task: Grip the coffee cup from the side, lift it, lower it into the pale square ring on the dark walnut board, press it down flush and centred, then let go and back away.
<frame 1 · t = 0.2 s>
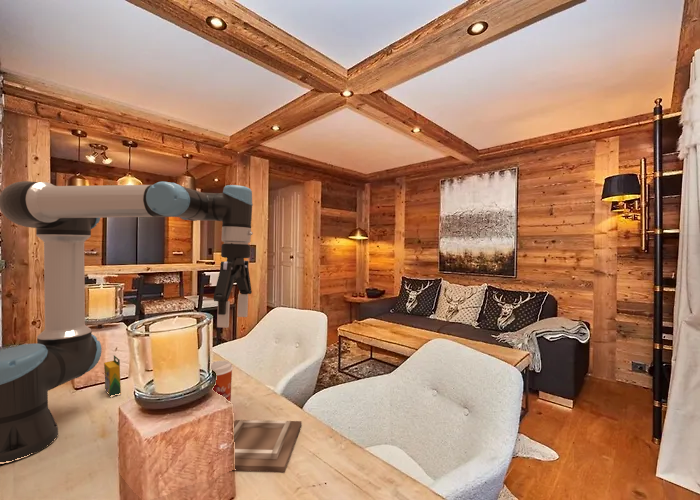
hand: (233, 321, 90), 27 cm above the table, tool pointing down, fingers open, 13 cm apart
walnut board: (257, 445, 80), on the table
crayon box: (112, 393, 109), on the table
coffee cup: (218, 418, 93), on the table
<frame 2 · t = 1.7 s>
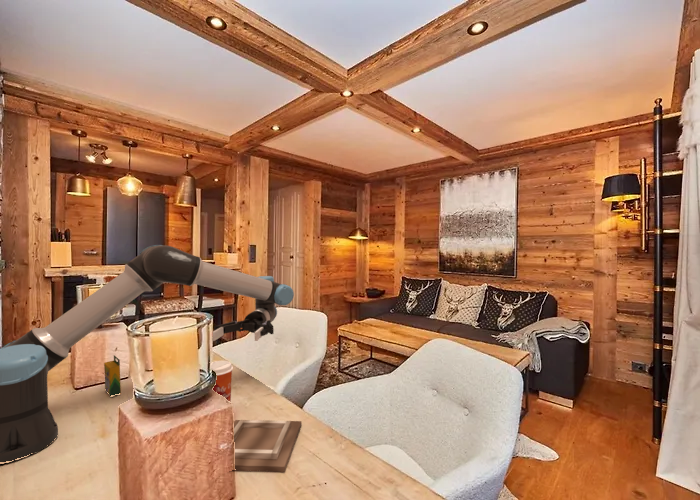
hand: (234, 336, 104), 20 cm above the table, tool horizontal, fingers open, 13 cm apart
nothing on the table moved.
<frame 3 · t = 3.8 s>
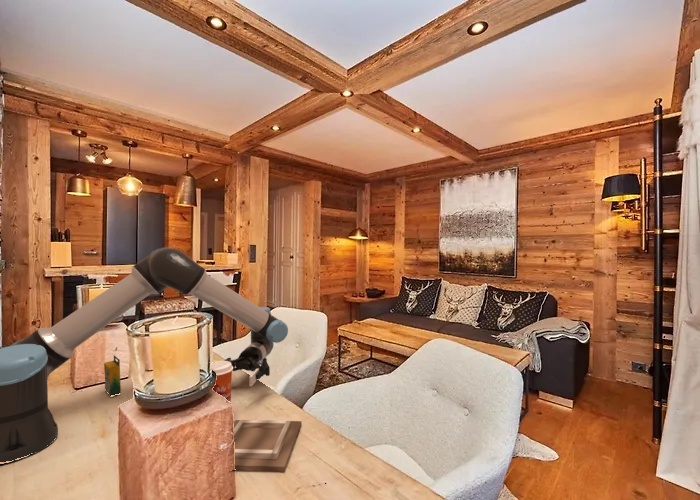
hand: (227, 381, 98), 8 cm above the table, tool horizontal, fingers open, 13 cm apart
nothing on the table moved.
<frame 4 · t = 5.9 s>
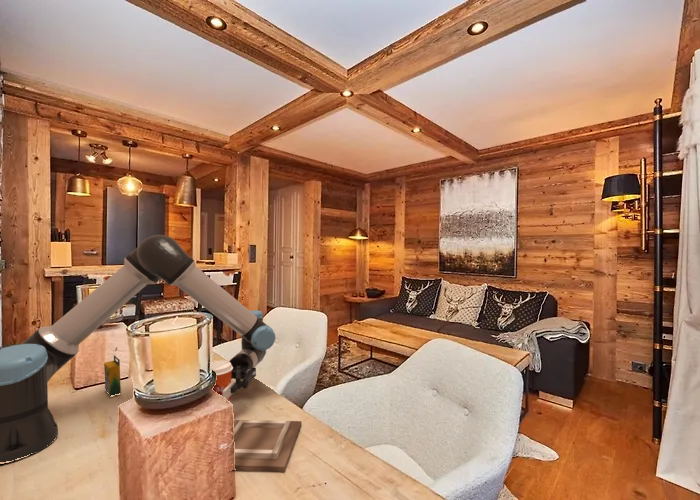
hand: (209, 395, 88), 9 cm above the table, tool horizontal, fingers closed on coffee cup, 7 cm apart
coffee cup: (218, 418, 93), on the table, touching gripper
everything else where it was.
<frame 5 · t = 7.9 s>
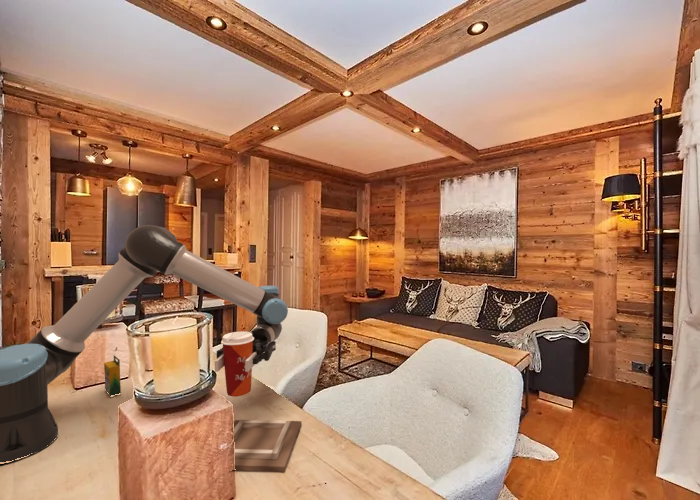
hand: (231, 366, 82), 18 cm above the table, tool horizontal, fingers closed on coffee cup, 7 cm apart
coffee cup: (239, 392, 88), point 10 cm above the table, touching gripper
everything else where it was.
when the fingers open (10 cm above the table, at t = 10.1 s): coffee cup stays where it is, resting on walnut board.
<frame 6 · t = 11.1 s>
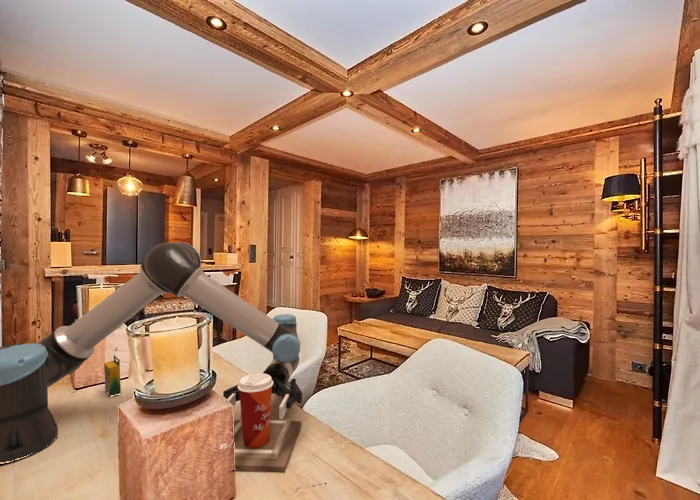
hand: (251, 412, 76), 10 cm above the table, tool horizontal, fingers open, 13 cm apart
coffee cup: (256, 441, 80), point 1 cm above the table, touching walnut board
everything else where it was.
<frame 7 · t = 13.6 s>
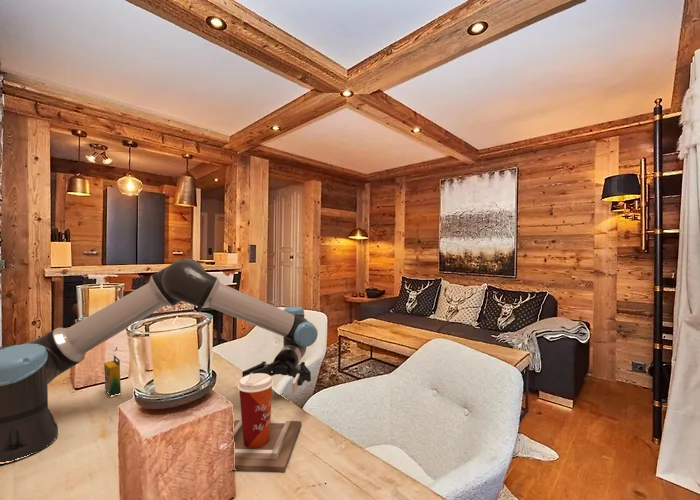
hand: (268, 387, 89), 10 cm above the table, tool horizontal, fingers open, 13 cm apart
nothing on the table moved.
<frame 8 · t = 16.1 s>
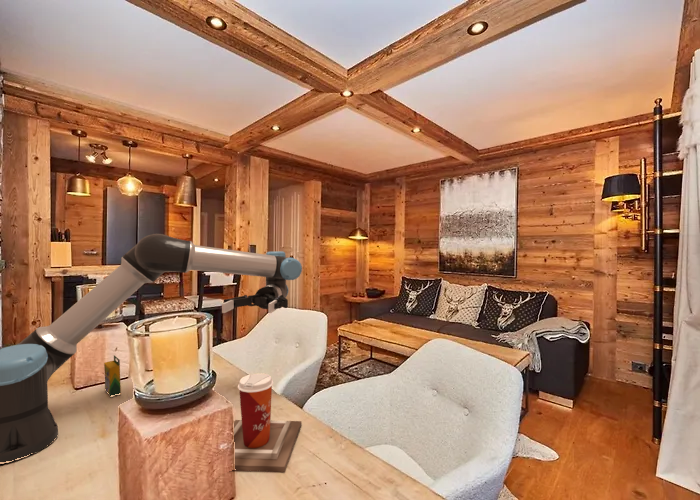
hand: (246, 308, 95), 30 cm above the table, tool horizontal, fingers open, 13 cm apart
nothing on the table moved.
at the end: coffee cup 0.1 cm off-centre on the walnut board, point 1.0 cm above the walnut board's base; coffee cup tilted 0°; the gripper is holding nothing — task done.
